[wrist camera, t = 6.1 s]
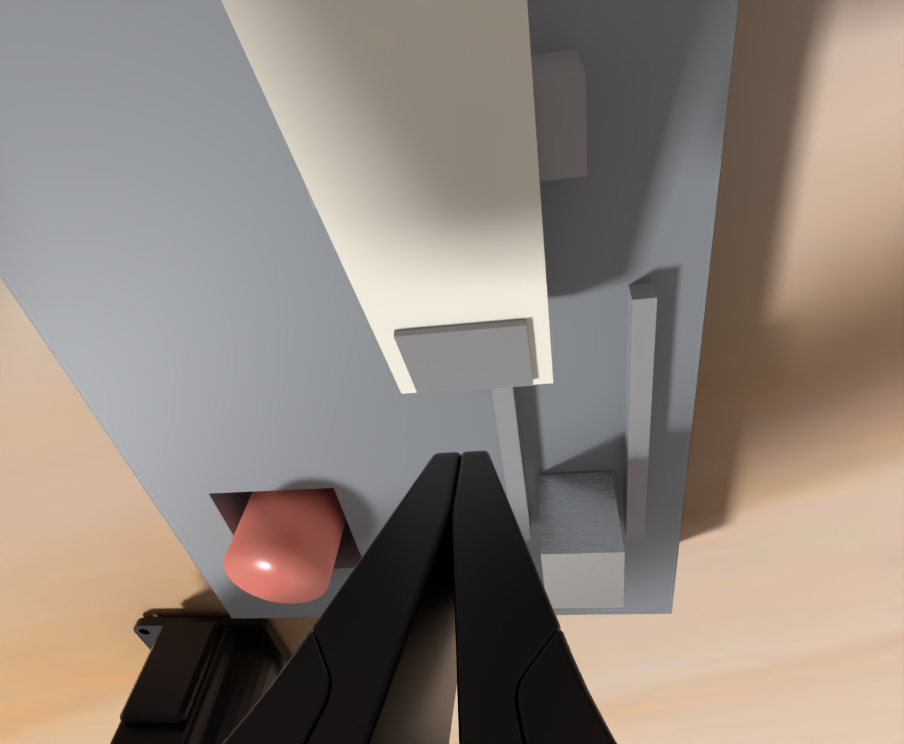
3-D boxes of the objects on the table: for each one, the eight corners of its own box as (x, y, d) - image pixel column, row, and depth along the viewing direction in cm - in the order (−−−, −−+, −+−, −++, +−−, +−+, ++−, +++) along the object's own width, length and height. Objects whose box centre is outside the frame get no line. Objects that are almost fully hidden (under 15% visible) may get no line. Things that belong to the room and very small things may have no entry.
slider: (611, 527, 18) (623, 607, 16) (543, 529, 19) (546, 608, 17) (611, 471, 17) (624, 552, 15) (537, 474, 17) (540, 554, 15)
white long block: (549, 328, 13) (553, 389, 13) (405, 340, 14) (400, 399, 13) (500, -379, 5) (503, -343, 4) (157, -290, 6) (102, -242, 5)
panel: (658, 551, 23) (682, 663, 20) (253, 561, 25) (214, 662, 22) (724, -308, 10) (832, -405, 6) (-136, -109, 12) (-375, -105, 9)
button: (365, 502, 23) (341, 602, 19) (282, 506, 23) (245, 604, 20) (342, 439, 21) (311, 539, 17) (251, 444, 21) (206, 542, 18)
